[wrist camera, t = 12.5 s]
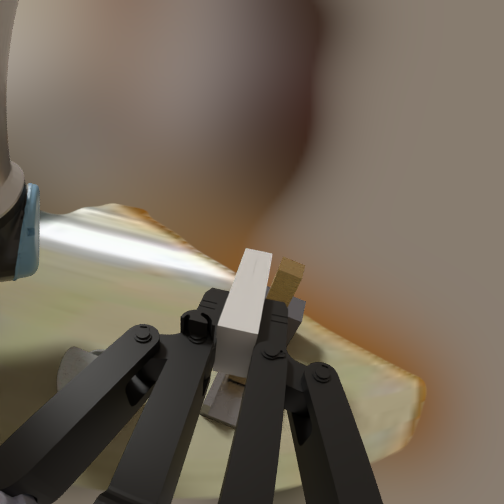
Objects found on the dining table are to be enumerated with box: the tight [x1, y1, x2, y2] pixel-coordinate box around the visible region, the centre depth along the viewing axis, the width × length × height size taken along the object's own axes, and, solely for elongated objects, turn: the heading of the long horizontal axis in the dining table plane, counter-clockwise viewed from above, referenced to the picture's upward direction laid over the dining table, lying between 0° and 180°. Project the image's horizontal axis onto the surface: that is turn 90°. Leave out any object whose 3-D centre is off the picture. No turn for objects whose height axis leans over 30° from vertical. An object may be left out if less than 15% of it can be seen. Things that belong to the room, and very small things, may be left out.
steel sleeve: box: [200, 372, 245, 428], centre depth 34 cm, size 7×8×4 cm
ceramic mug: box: [57, 347, 105, 392], centre depth 28 cm, size 11×8×8 cm
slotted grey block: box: [265, 286, 306, 347], centre depth 46 cm, size 10×5×7 cm, turn 74°
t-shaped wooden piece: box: [228, 257, 305, 385], centre depth 38 cm, size 4×14×16 cm, turn 164°
